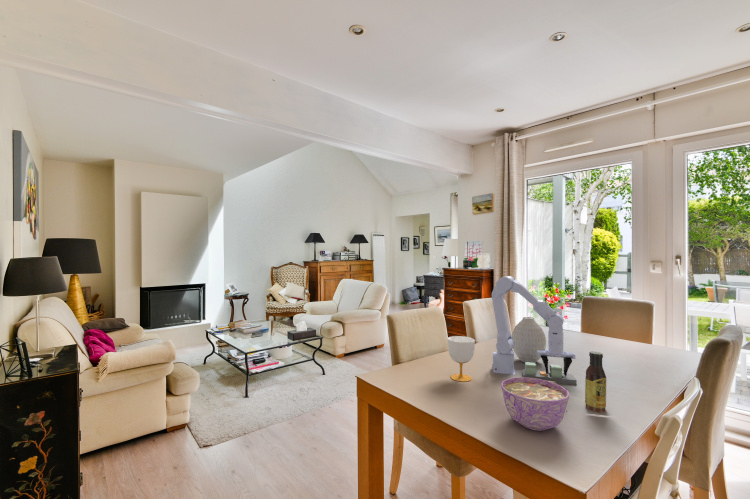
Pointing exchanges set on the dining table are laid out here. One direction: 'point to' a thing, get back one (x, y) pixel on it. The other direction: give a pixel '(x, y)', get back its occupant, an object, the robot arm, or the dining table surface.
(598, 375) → the sauce bottle
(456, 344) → the cup
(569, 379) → the gray fixture base
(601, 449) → the dining table surface
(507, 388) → the bowl of food
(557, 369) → the plug
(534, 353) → the vase
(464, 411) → the dining table surface
